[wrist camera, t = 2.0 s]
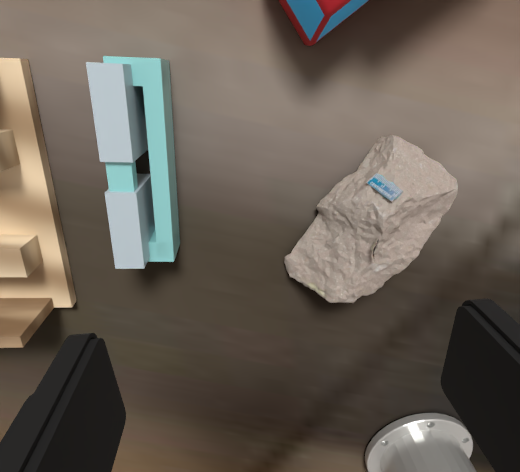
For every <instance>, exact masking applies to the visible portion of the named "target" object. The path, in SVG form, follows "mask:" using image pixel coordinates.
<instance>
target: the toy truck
mask: <svg viewBox="0 0 520 472" xmlns="http://www.w3.org/2000/svg"><path fill="white" fill-rule="evenodd" d="M278 1H279V2H280V4H281V6H282V7H283V9H284V11H285V12H286V14H287V16H288V17H289V19H290V21H291V22H292V24H293V26H294V28H295V29H296V31H297V33H298V34H299V36H300V38H301V39H302V41H303V43H304V44H305V45H308V46H311V45H314V44H315V43H316V42H318V41H319V40H320V39H321V38H323V37H324V36H325V35H326V34H328V33H329V32H330V31H332V30H333V29H334V28H335V27H337V26H338V25H339V24H340V23H342V22H343V21H344V20H345V19H347V18H348V17H349V16H350V15H352V14H353V13H354V12H356V11H357V10H358V9H359V8H361V7H362V6H363V5H364V4H366V3H367V2H368V1H369V0H278Z"/></svg>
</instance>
